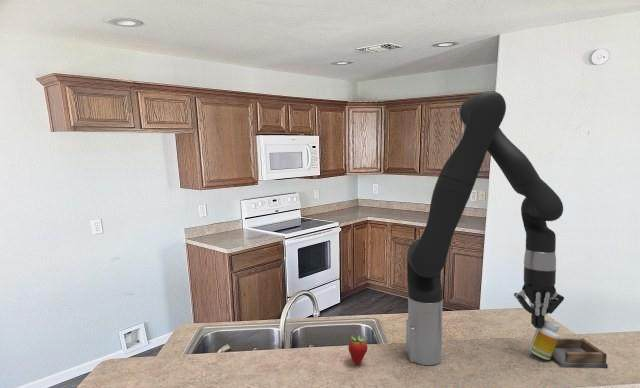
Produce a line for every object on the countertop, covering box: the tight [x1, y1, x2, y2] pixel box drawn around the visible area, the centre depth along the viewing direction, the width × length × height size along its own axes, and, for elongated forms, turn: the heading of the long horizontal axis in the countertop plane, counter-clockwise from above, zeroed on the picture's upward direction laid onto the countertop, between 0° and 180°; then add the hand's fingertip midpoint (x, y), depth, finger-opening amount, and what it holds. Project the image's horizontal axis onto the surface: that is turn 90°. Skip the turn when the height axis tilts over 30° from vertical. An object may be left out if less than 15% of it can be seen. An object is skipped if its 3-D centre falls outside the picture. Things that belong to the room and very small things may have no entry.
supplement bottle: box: [528, 319, 561, 361], centre depth 99 cm, size 5×5×10 cm
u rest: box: [550, 337, 609, 369], centre depth 99 cm, size 12×10×4 cm
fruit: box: [348, 334, 368, 365], centre depth 97 cm, size 5×5×8 cm
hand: (537, 327), depth 99 cm, fingers closed
